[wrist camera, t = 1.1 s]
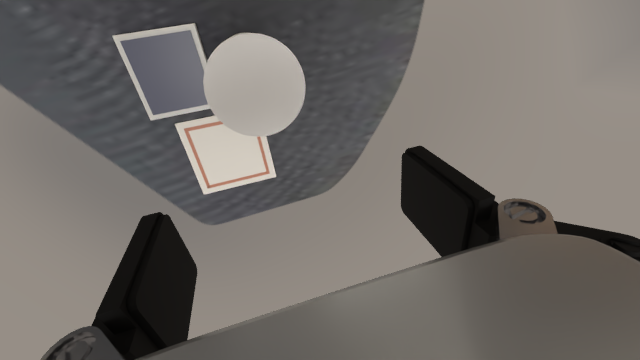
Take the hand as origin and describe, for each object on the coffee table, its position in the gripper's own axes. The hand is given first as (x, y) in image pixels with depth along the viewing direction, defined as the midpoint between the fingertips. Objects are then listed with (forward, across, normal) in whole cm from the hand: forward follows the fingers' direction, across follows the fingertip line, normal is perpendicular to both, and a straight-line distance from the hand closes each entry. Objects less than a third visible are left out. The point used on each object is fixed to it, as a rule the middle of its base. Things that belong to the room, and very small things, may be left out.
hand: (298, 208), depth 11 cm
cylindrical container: (+37, 0, -1) cm, 37 cm away
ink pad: (+37, +11, -2) cm, 39 cm away
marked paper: (+37, +7, +12) cm, 39 cm away
